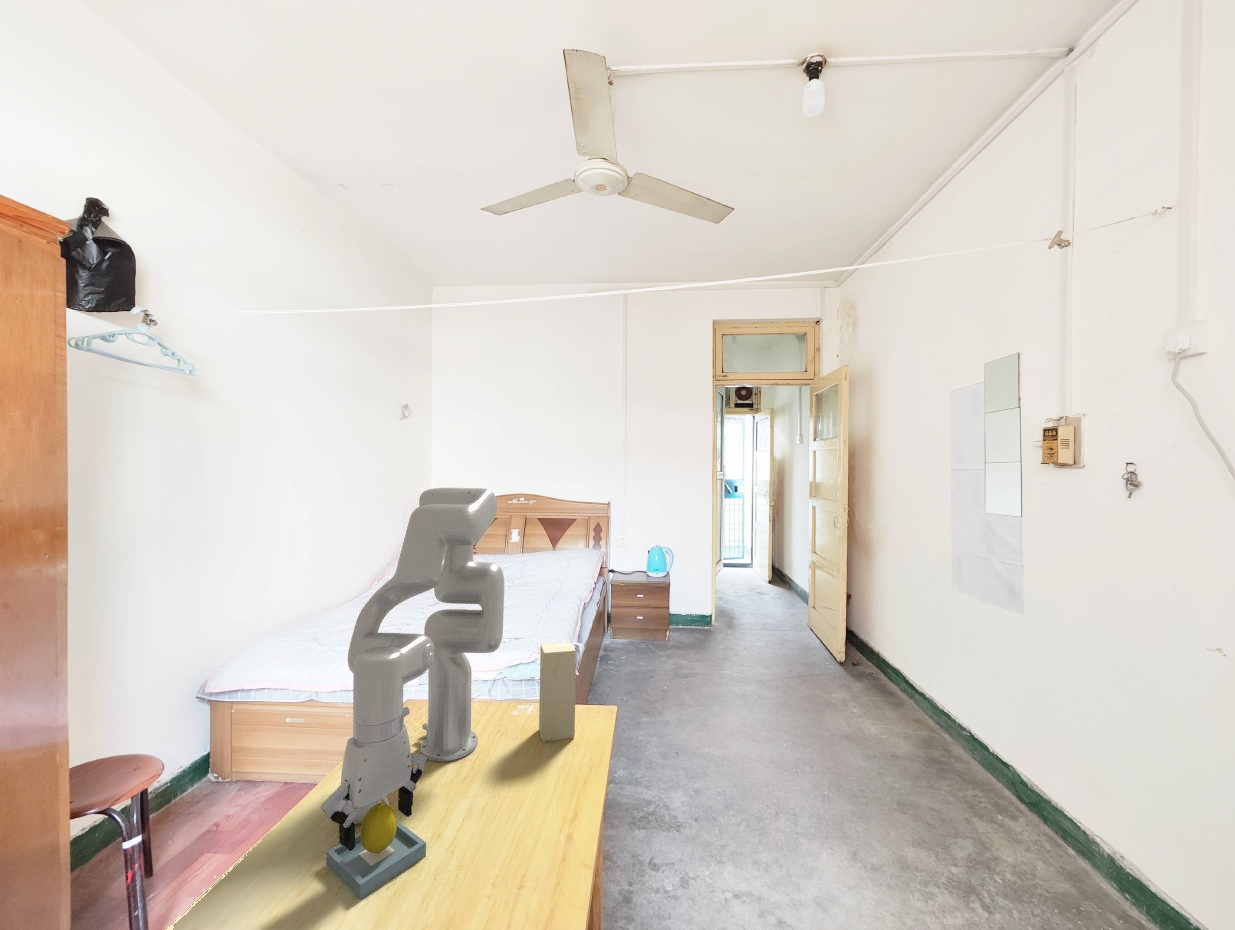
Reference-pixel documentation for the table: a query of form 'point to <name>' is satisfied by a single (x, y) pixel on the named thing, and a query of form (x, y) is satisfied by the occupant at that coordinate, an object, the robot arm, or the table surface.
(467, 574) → the robot arm
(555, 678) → the beige rectangular block
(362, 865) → the tray
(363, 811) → the teacup
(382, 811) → the lemon
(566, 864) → the table surface
